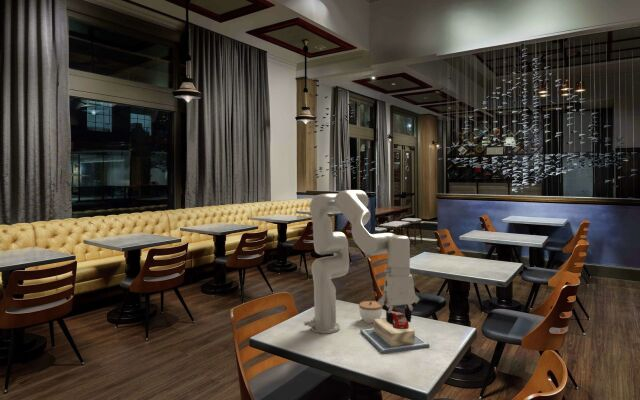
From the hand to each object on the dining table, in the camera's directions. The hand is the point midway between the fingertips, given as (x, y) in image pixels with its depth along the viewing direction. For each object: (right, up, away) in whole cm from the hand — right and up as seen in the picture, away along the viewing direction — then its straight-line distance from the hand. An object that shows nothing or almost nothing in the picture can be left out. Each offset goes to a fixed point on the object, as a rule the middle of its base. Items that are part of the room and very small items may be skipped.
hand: (398, 321), depth 134 cm
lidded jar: (-4, -14, +45) cm, 47 cm away
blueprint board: (+2, -15, +23) cm, 27 cm away
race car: (0, -1, 0) cm, 1 cm away
